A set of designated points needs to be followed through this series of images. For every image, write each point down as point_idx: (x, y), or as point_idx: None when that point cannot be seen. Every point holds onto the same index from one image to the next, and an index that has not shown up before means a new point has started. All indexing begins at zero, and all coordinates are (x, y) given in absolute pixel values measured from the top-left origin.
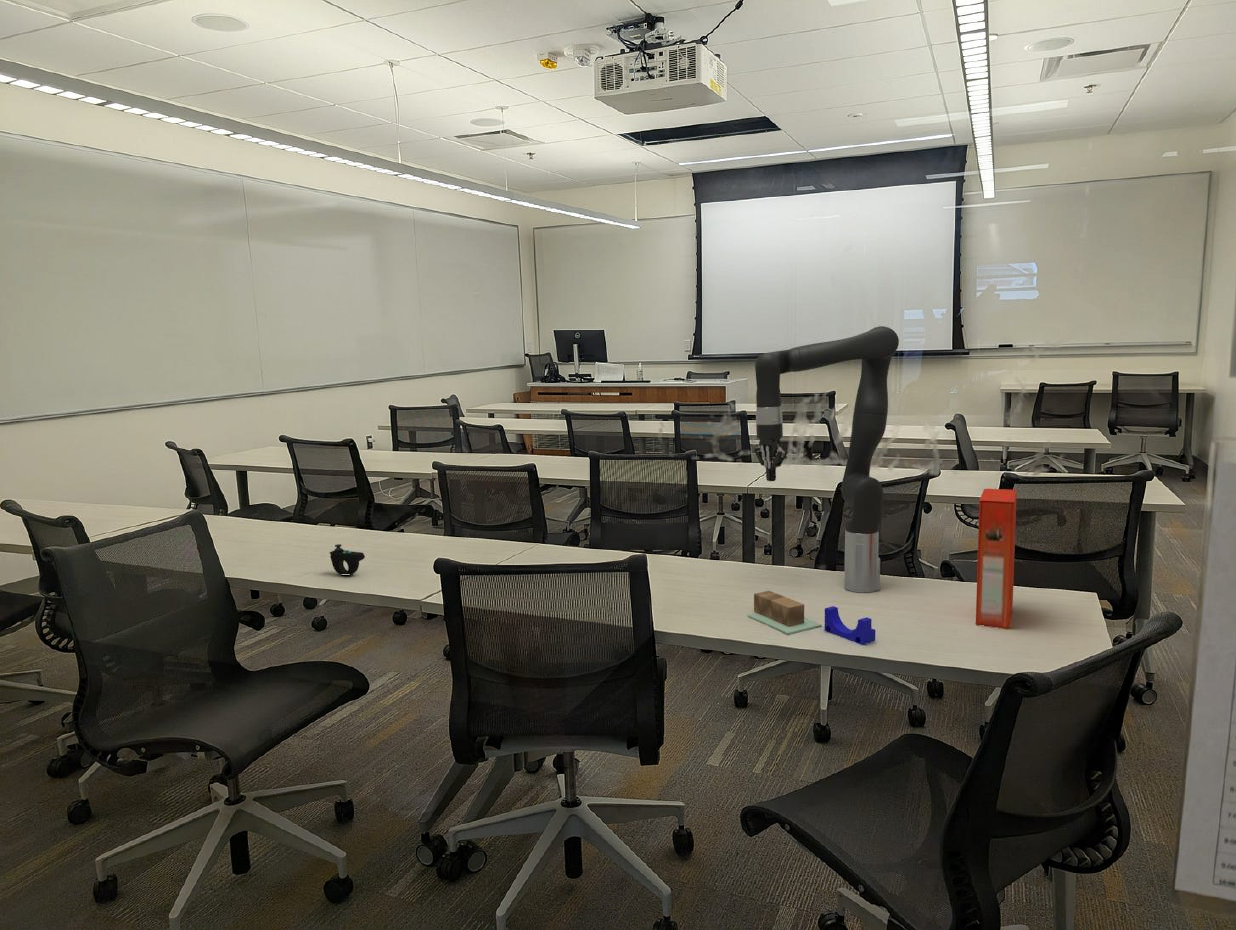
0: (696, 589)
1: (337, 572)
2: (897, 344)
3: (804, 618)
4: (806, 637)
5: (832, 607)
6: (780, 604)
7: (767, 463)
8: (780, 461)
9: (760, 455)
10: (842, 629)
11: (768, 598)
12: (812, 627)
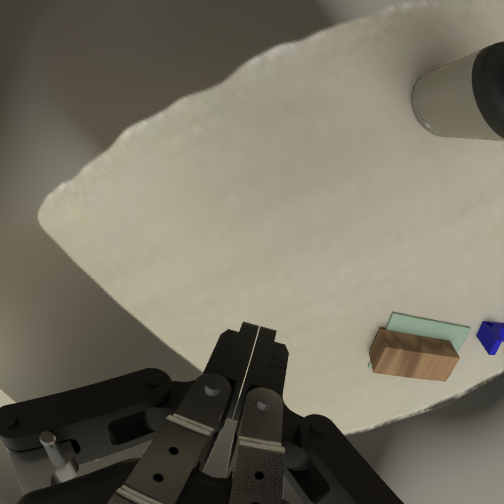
0: (212, 320)
1: None
2: None
3: (444, 326)
4: (463, 366)
5: (496, 344)
6: (430, 379)
7: (214, 445)
8: (345, 466)
9: (99, 453)
10: (500, 336)
11: (404, 374)
12: (462, 342)
